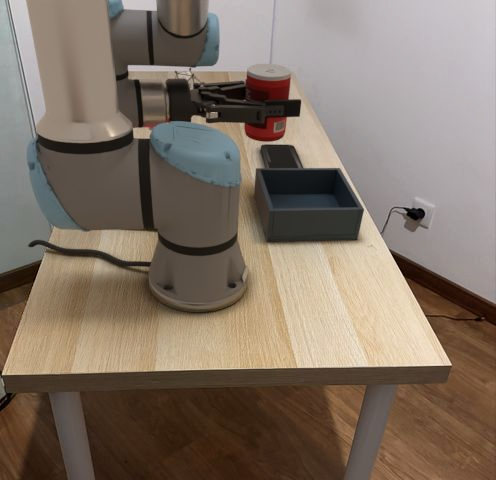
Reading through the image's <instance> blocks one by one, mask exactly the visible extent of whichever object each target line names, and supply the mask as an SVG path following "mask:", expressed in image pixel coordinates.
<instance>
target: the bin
mask: <svg viewBox="0 0 496 480" xmlns="http://www.w3.org/2000/svg"><path fill="white" fill-rule="evenodd" d="M254 174H255V175H254V176H255V177H254V189H253V190H254V191H253V192H254V193H253V199H254V202H255V206H256V209H257V212H258V216H259V219H260V223H261V227H262V229H263V234H264V236H265V240H266V242H268V243H269V242H306V241H307V242H309V241H310V242H311V241H350V240H351V241H353V240H355V241H356V240H359V235H360V230H361V226H362V222H363V217H364V213H365V208H364V206H363V204H362V203H361V201H360V200H359V198H358V196H357V195H356V193H355V191H354V190H353V188H352V186H351V184H350V183H349V180H348V179H347V178H346V176H345V174H344V172H343V170H342V169H341V168H340V167H303V168H266V167H264V168H263V167H261V168H260V167H256V168H255V173H254Z"/></svg>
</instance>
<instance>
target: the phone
mask: <svg viewBox="0 0 496 480" xmlns="http://www.w3.org/2000/svg"><path fill="white" fill-rule="evenodd" d="M260 154H261V157H262V161H263V163H264V166H265V167H264V168H304V166H303V164H302V162H301V161H302V160H301V159H300V156H299V154H298V152H297V150H296V147H295V146H294V145H293V144H273V143H272V144H271V143H270V144H266V143H264V144H261V145H260Z"/></svg>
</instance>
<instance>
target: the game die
mask: <svg viewBox="0 0 496 480" xmlns="http://www.w3.org/2000/svg"><path fill="white" fill-rule="evenodd" d="M174 74H175V77H174V79H180V78H184V79H186V80H187V81H188V83H189V86H190V90H192V89H193V84H194V83H206V82H205V81H201V80H200V79H199V78H198V77H197V76H196V75H195V73H193V71H192V67H188V70H186V71H185V70H184V71H181V72H178V71H177V70H174Z"/></svg>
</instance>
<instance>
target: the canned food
mask: <svg viewBox="0 0 496 480" xmlns="http://www.w3.org/2000/svg"><path fill="white" fill-rule="evenodd" d="M291 78H292V71H291V69H290V68H289V67H287V66H284V65H280V64H274V63H257V64H253V65H250V66H248V67H247V71H246V79H245V81H246V100H245V101H253V102H263V103H264V100H288V99H290V90H291ZM287 119H288V117H277V118H265V122H264V124H260V123H243V126H244V127H243V129H244V133H245V135H246V137H247V138H249V139H250V140H253V141H257V142H264V143H266V142H267V143H268V142H269V143H271V142H276V141H280V140H281V139H282V138H284V136H285V134H286V130H287V129H286V128H287V121H288V120H287Z"/></svg>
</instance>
